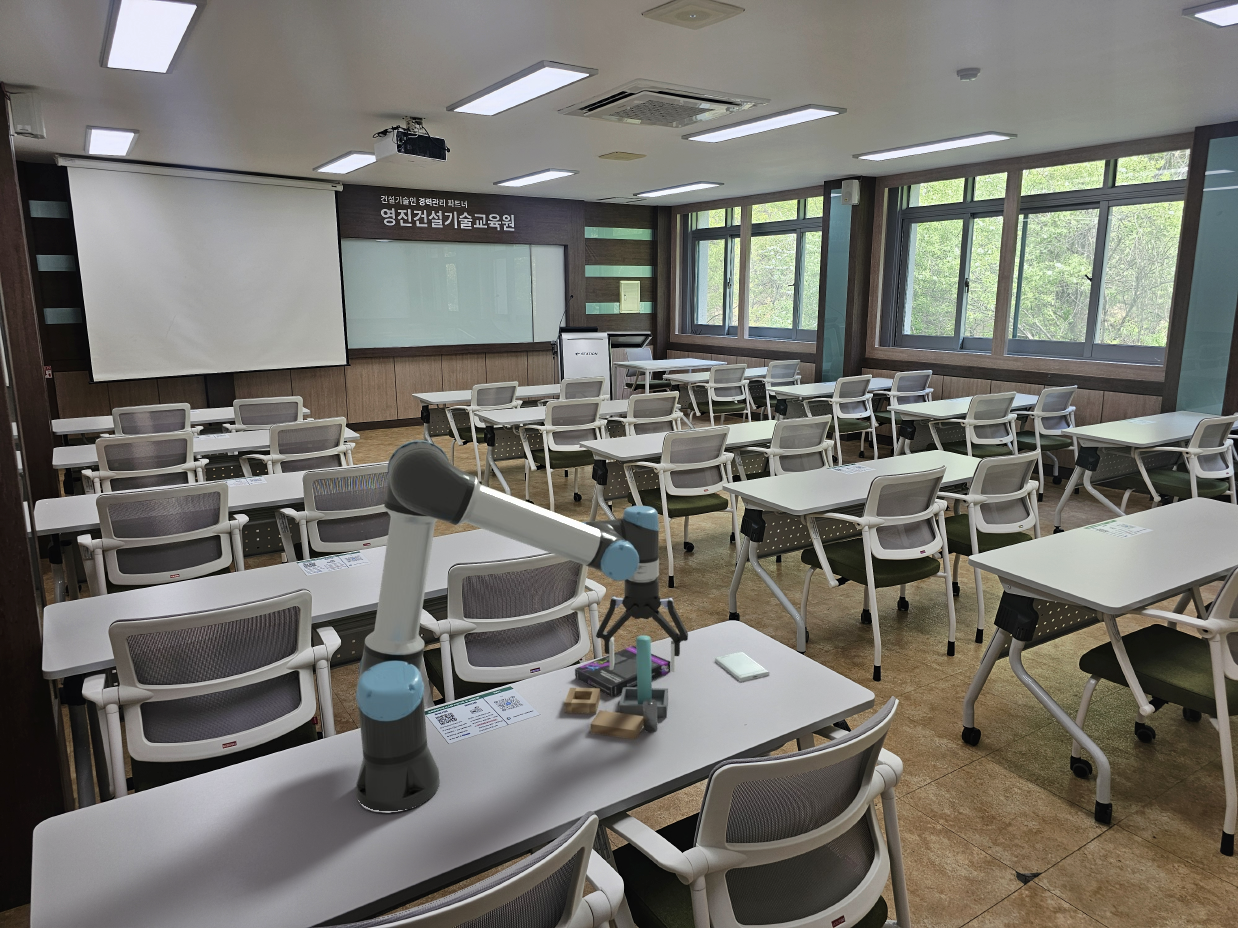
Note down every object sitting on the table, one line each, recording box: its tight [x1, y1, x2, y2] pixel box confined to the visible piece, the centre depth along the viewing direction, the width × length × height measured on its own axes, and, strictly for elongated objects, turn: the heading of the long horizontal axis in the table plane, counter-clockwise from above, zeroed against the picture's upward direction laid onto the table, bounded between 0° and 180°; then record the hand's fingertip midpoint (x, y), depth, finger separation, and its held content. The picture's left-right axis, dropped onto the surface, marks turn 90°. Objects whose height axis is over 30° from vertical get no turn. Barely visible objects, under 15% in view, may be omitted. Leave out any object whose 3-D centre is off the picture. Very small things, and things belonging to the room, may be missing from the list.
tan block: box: [590, 710, 643, 741], centre depth 168 cm, size 10×6×2 cm, turn 72°
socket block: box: [564, 687, 601, 715], centre depth 178 cm, size 7×7×2 cm
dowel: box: [635, 635, 653, 704], centre depth 175 cm, size 3×3×16 cm
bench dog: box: [642, 699, 658, 733], centre depth 167 cm, size 3×3×6 cm
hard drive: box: [714, 651, 770, 683], centre depth 195 cm, size 2×8×12 cm
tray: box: [618, 687, 669, 718], centre depth 177 cm, size 10×8×3 cm
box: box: [574, 645, 671, 698], centre depth 193 cm, size 14×4×20 cm
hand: (642, 668), depth 175 cm, fingers open, 13 cm apart
